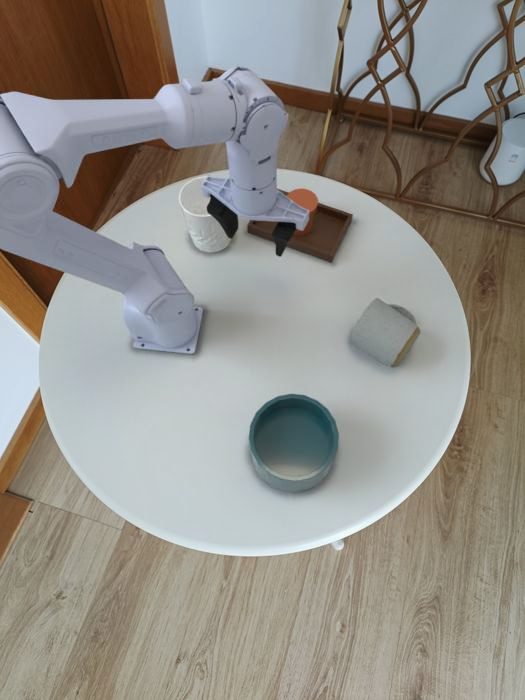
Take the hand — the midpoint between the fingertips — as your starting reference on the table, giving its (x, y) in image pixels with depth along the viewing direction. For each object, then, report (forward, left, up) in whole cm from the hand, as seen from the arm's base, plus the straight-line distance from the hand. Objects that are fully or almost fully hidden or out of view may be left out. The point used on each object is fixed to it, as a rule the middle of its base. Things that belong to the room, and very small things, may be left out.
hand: (256, 241), depth 77 cm
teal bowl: (+8, -27, -10) cm, 30 cm away
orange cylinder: (+5, +11, -10) cm, 16 cm away
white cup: (-9, +8, -11) cm, 16 cm away
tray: (+5, +11, -10) cm, 16 cm away
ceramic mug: (+20, -8, -11) cm, 24 cm away
